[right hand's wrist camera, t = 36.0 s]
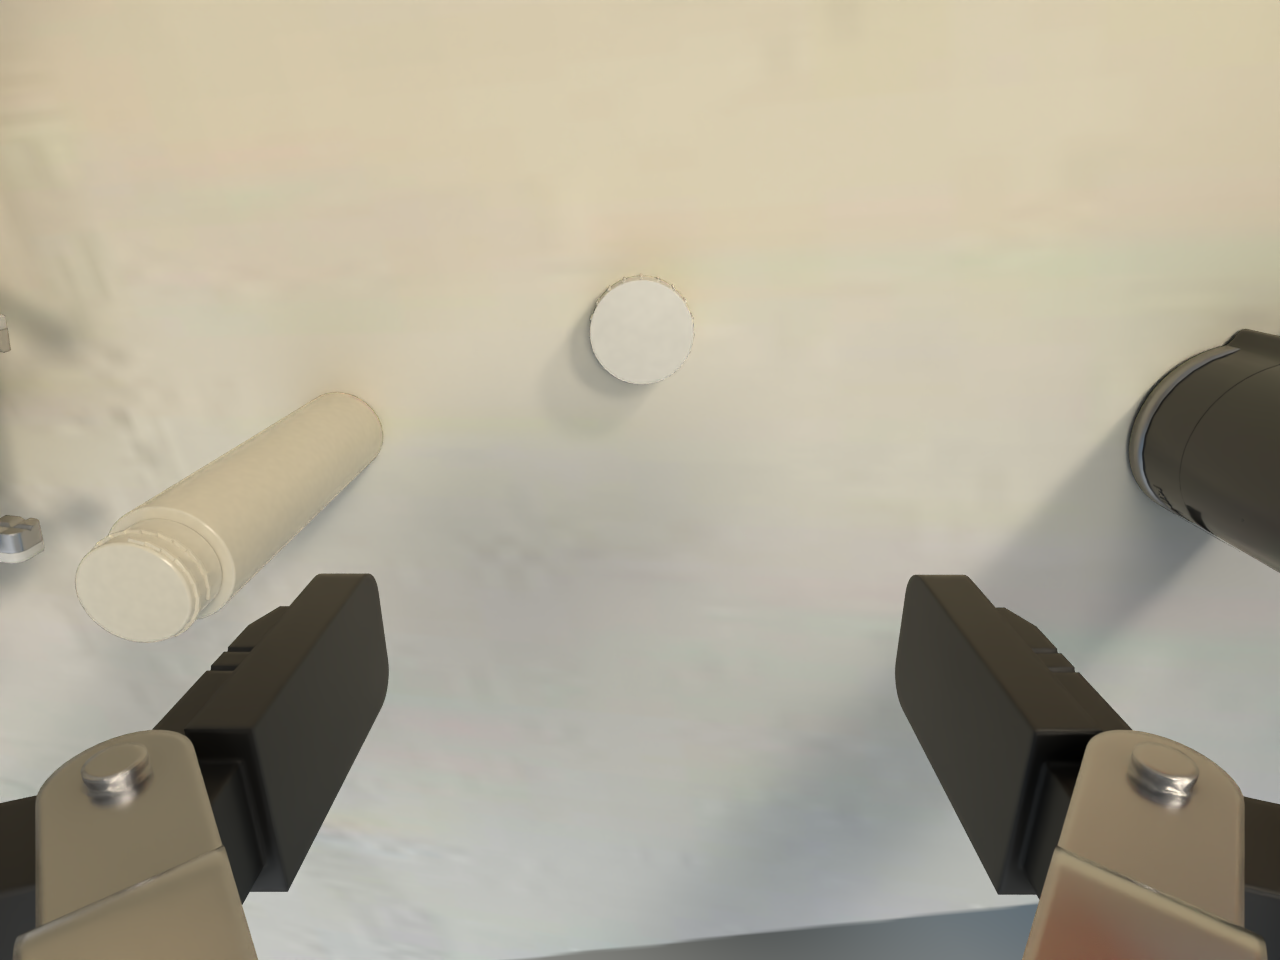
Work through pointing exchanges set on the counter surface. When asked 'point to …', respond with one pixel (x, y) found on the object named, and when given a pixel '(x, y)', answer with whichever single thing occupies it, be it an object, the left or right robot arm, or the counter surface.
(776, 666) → the counter surface
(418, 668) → the counter surface
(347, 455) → the beige canister
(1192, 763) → the right robot arm
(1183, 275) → the counter surface
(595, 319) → the lid
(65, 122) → the counter surface
